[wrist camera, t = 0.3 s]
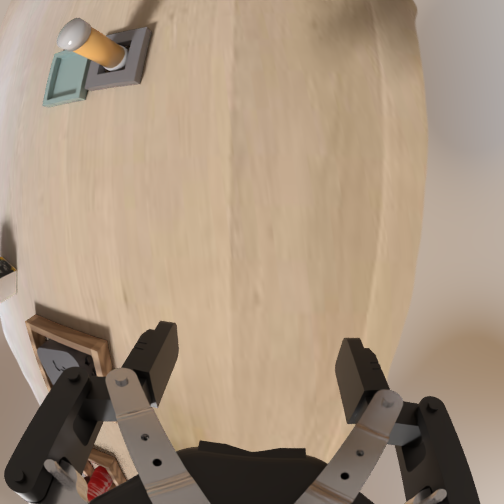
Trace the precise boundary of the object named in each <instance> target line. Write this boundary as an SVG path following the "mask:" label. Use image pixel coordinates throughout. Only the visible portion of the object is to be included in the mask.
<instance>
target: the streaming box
mask: <svg viewBox="0 0 504 504" xmlns="http://www.w3.org/2000/svg"><path fill="white" fill-rule="evenodd" d="M37 354H38V357H39V359H40V361H41V363H42V365H43V367H44V369H45V371H46V373H47V375H48V377H49V378H50V380H51V382H52V384H53V385H54V384H55V382H56V381H57V379H58V378H59V376H60V375H61V373H62V372H63V371H64V370H66V369H67V368H70V367H75V366H76V367H81V368H84V369H85V370H86V371H87V373H88V375H89V376H97V374H96V370H95V366H94V362H93V358H92V356H91V355H89V354H86V353H84V352H81V351H79V350H76V349H74V348H71V347H69V346H66V345H64V344H61V343H59V342H57V341H54V340H52V339H49V340H47V341H46V342H45V343H44V344H42V345H41V346H40V347H39V348H38V349H37Z"/></svg>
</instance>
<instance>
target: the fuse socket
mask: <svg viewBox="0 0 504 504" xmlns="http://www.w3.org/2000/svg"><path fill="white" fill-rule="evenodd" d="M151 33H152V31H150V30H149V29H148V28H147V27H144V28H139V29H133V30H129V31H124V32H119V33H115V34H111V35H107V36H106V37H108V38H110V39H111V40H113V41H114V42H116V43H117V44H118V45H122V46H124V47H125V46H130V49H129V53H128V58H127V62H126V66H125V70H120V71H114V72H108V73H105V68H104V67H103V66H102V65H100V64H98V63H96V62H94V61H92V60H91V63H90V67H89V71H88V75H87V80H86V84H85V89H87V90H90V91H94V90H100V89H106V88H112V87H119V86H127V85H135V84H140V82H141V77H142V72H143V67H144V62H145V58H146V53H147V49H148V45H149V41H150V37H151Z"/></svg>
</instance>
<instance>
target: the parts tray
mask: <svg viewBox="0 0 504 504" xmlns="http://www.w3.org/2000/svg"><path fill="white" fill-rule="evenodd" d="M90 63H91V60H90V59H88V58H86V57H83V56H81V55H79V54H77V53H75V52H73V51H72V52H69V51H67V50H64V51H62V52H59V53H56V54H54V58H53V61H52V65H51V69H50V73H49V77H48V81H47V86H46V90H45V95H44V100H43V106H44V107H53V106H57V105H62V104H66V103H71V102H76V101H81V100H86V95H87V89H85V84H86V80H87V75H88V71H89V67H90Z"/></svg>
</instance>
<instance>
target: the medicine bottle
mask: <svg viewBox="0 0 504 504" xmlns="http://www.w3.org/2000/svg"><path fill="white" fill-rule="evenodd" d="M16 294H17V270H16V269H15V268H14V267H13V266H12V265H11V264H10V263H8V262H7V261H6V260H5V259H4V258H3V257H0V303H2V302H4V301H5V300H7V299H9V298H10V297H12V296H14V295H16Z"/></svg>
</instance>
